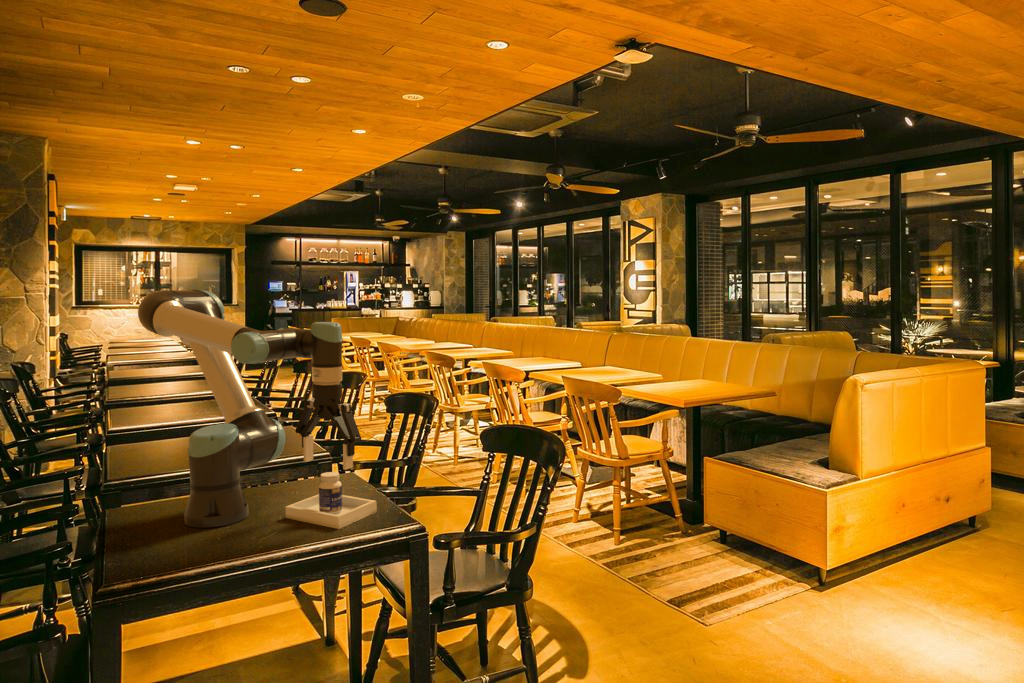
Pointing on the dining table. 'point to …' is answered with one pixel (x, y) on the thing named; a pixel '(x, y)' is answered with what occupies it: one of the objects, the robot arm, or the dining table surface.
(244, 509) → the robot arm
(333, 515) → the serving tray
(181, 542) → the dining table surface
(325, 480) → the pill bottle
